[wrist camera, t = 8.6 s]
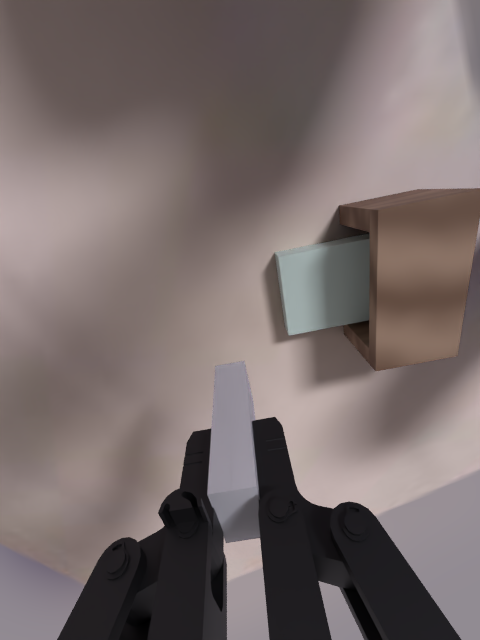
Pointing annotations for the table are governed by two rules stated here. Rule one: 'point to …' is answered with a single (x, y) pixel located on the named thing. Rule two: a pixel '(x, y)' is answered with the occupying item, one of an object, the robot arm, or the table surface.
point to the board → (325, 284)
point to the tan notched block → (415, 273)
